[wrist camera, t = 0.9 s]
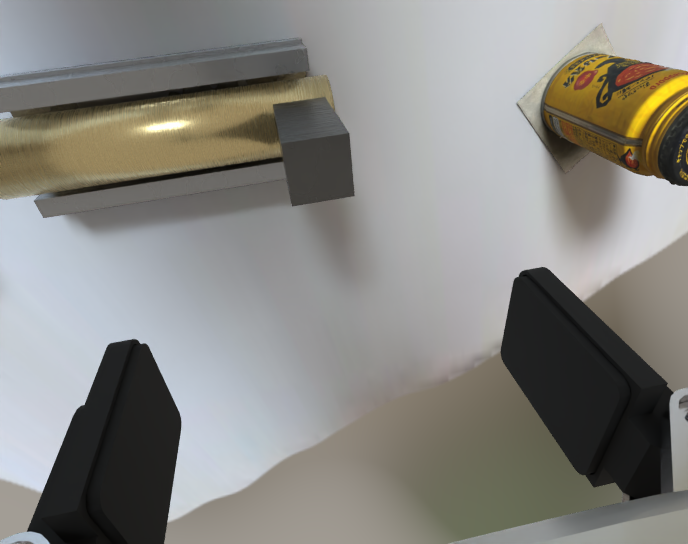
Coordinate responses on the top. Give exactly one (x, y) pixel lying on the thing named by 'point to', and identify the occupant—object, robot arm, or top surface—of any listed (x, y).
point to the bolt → (183, 140)
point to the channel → (146, 83)
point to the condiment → (613, 111)
